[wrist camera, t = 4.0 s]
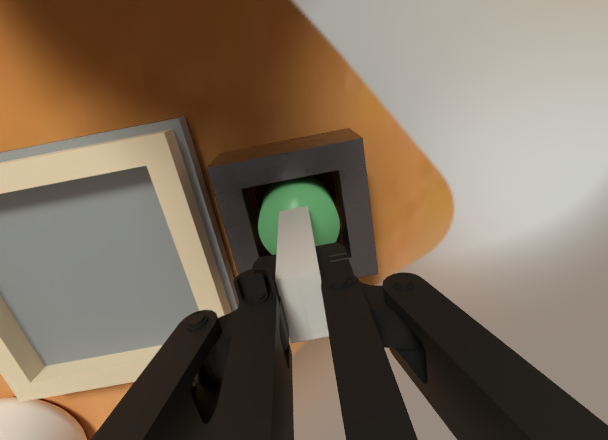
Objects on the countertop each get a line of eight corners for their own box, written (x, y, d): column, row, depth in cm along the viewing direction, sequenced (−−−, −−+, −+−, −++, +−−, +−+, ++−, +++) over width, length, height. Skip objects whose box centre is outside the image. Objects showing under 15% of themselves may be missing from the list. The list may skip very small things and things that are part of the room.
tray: (42, 377, 27) (16, 408, 24) (-90, 170, 20) (-143, 182, 18) (252, 340, 26) (249, 367, 24) (184, 116, 20) (170, 120, 17)
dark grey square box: (251, 264, 24) (245, 297, 20) (221, 153, 21) (206, 167, 17) (363, 244, 24) (378, 273, 20) (348, 128, 21) (362, 137, 17)
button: (270, 245, 22) (268, 269, 19) (254, 180, 20) (249, 196, 17) (337, 232, 22) (345, 255, 19) (326, 166, 20) (333, 180, 17)
